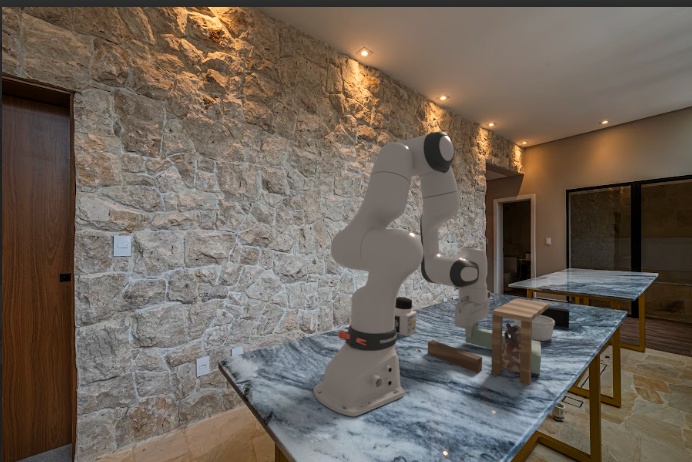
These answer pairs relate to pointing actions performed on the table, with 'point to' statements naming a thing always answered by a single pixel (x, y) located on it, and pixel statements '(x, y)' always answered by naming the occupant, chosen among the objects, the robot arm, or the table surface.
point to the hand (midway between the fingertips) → (471, 335)
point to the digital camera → (558, 316)
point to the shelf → (526, 314)
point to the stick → (455, 356)
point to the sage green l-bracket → (485, 340)
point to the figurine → (512, 348)
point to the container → (404, 316)
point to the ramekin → (540, 327)
